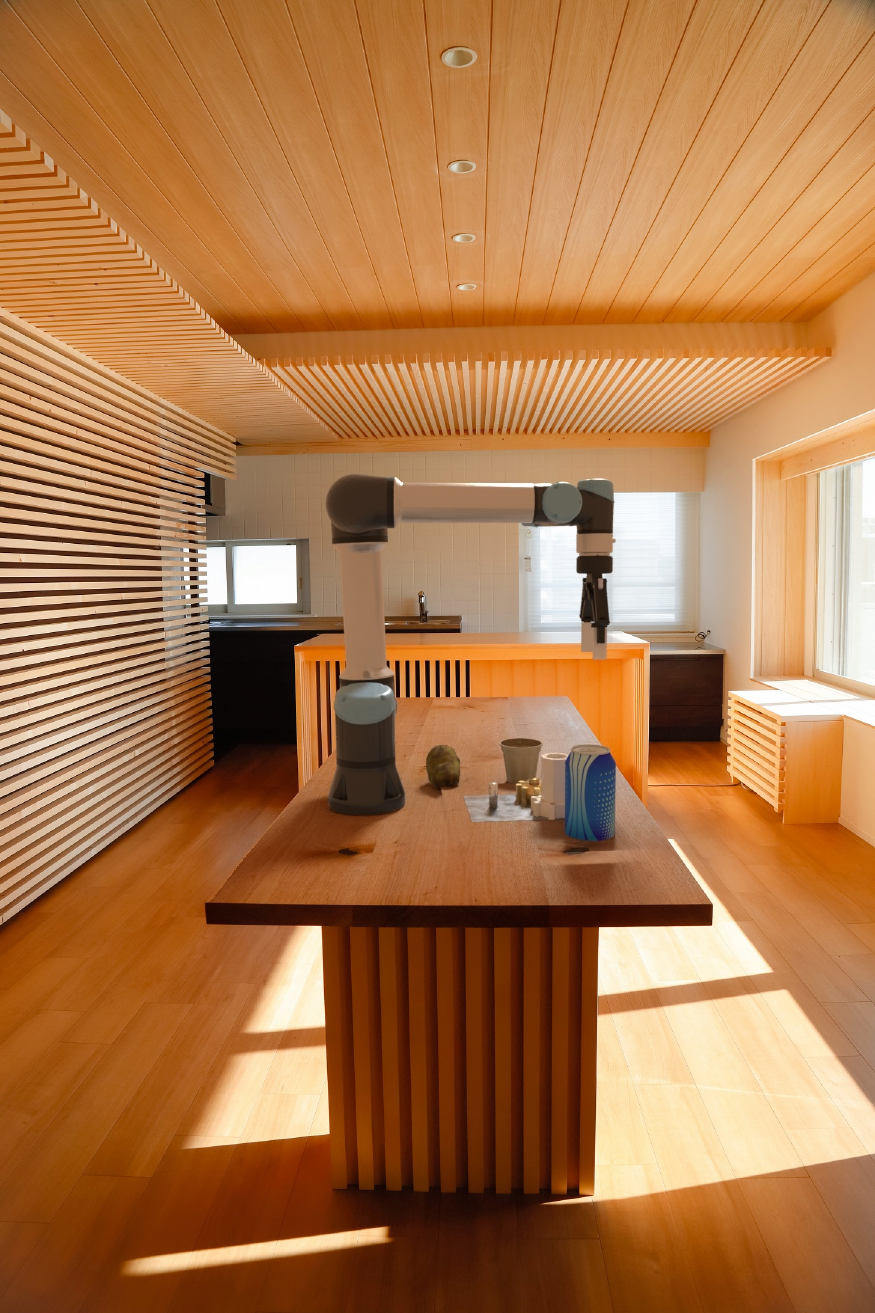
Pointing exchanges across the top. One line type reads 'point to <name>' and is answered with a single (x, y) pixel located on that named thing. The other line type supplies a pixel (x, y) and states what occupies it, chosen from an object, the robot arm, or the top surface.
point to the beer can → (590, 793)
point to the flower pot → (520, 758)
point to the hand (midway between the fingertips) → (593, 655)
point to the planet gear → (551, 787)
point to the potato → (443, 767)
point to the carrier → (505, 803)
